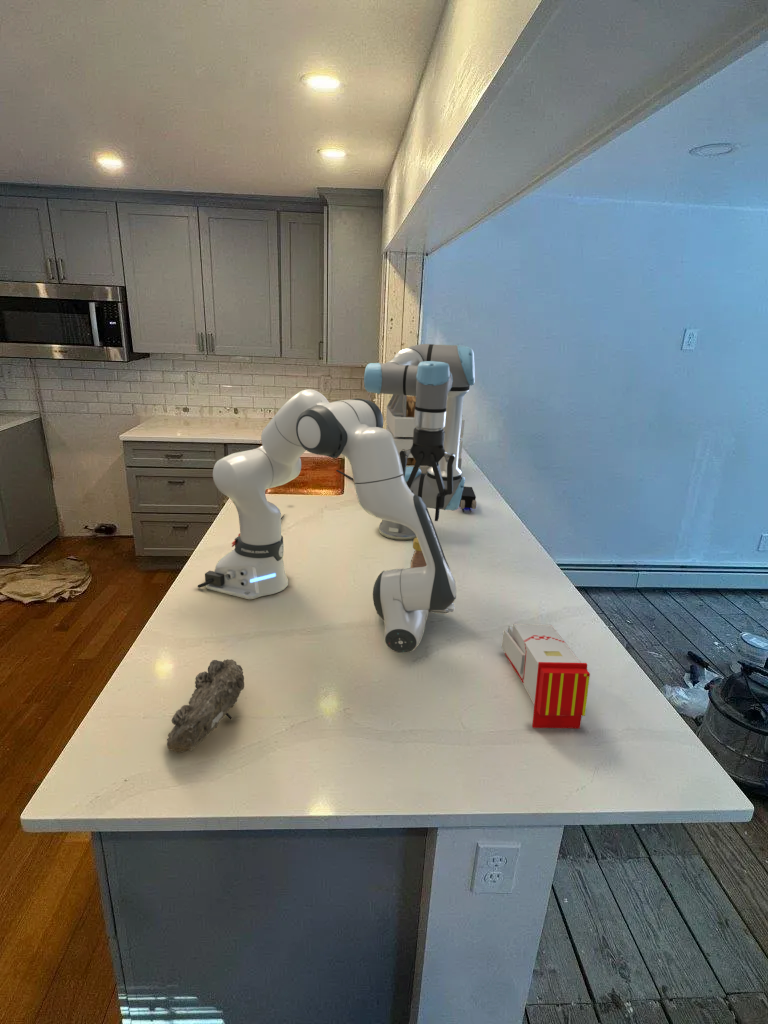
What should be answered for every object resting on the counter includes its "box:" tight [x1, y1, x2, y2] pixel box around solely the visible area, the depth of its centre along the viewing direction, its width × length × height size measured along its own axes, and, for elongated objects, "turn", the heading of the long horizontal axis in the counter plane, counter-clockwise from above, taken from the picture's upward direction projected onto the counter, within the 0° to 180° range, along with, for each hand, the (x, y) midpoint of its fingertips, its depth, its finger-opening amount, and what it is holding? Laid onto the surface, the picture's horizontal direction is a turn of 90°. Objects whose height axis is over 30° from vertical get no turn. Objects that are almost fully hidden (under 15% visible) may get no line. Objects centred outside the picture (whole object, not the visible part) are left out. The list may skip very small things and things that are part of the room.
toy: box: [501, 623, 591, 729], centre depth 120 cm, size 12×13×30 cm
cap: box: [412, 538, 422, 551], centre depth 147 cm, size 4×4×2 cm
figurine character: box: [458, 485, 477, 514], centre depth 227 cm, size 7×8×15 cm
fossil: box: [166, 658, 245, 754], centre depth 106 cm, size 22×10×15 cm
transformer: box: [385, 394, 465, 471], centre depth 268 cm, size 34×33×41 cm
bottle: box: [409, 549, 427, 568], centre depth 150 cm, size 5×5×18 cm
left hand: (418, 582), depth 151 cm, fingers closed on bottle, 5 cm apart
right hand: (422, 517), depth 144 cm, fingers open, 6 cm apart
